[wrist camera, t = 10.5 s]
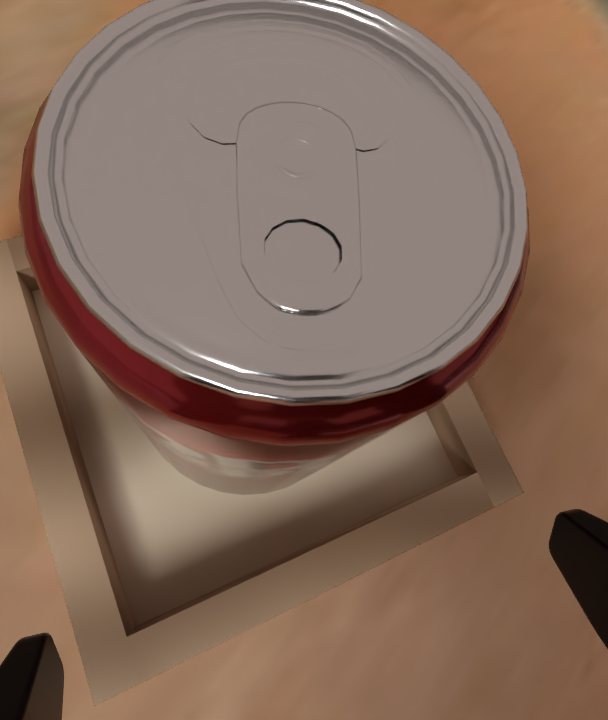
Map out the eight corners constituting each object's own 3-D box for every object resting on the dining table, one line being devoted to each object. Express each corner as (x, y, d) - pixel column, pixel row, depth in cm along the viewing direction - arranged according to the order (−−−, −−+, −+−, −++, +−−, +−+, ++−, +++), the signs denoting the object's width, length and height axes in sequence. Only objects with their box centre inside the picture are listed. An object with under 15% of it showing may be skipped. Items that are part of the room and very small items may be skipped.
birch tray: (486, 496, 19) (523, 492, 17) (112, 679, 16) (94, 705, 13) (337, 192, 22) (351, 153, 20) (-3, 284, 19) (-34, 249, 16)
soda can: (153, 287, 19) (56, -81, 7) (347, 304, 20) (522, 5, 8) (127, 492, 16) (-72, 417, 5) (349, 499, 17) (592, 450, 6)
